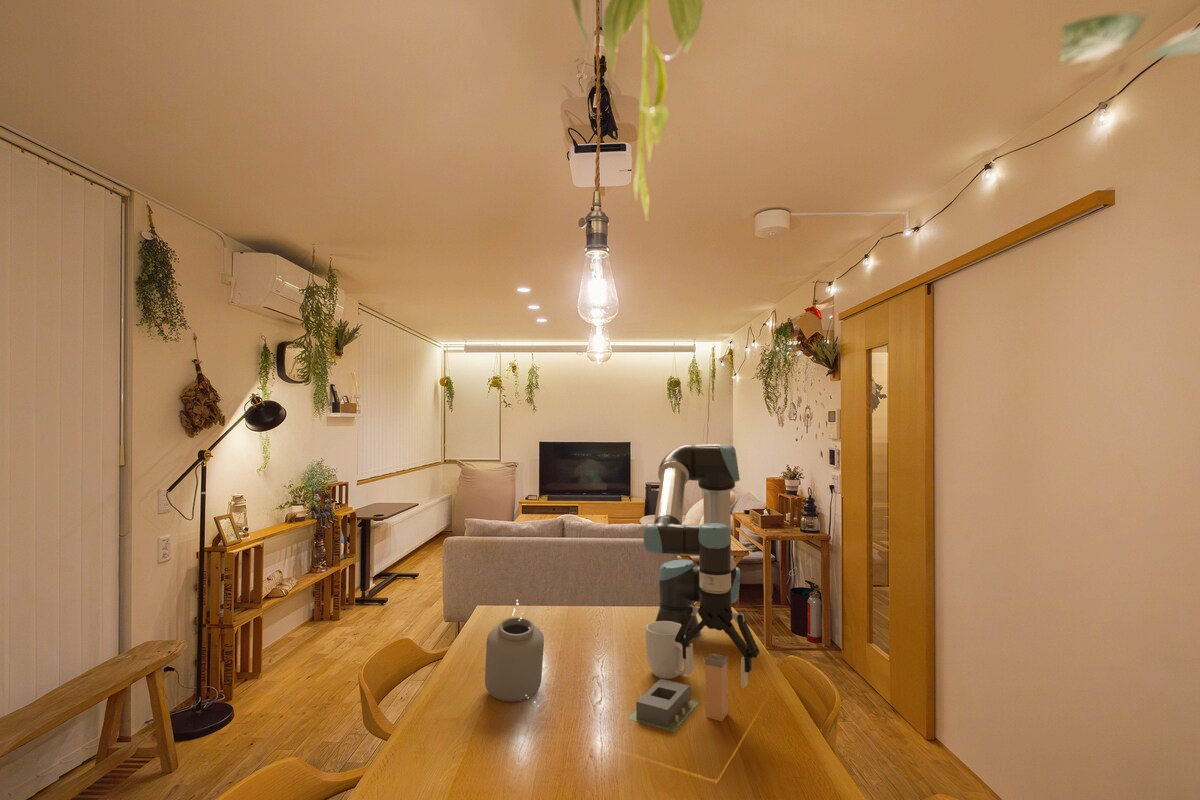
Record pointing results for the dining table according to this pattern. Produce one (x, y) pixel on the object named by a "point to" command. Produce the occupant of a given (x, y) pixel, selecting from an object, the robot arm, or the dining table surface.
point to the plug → (716, 687)
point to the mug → (664, 649)
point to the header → (664, 705)
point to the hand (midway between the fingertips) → (716, 678)
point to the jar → (514, 659)
